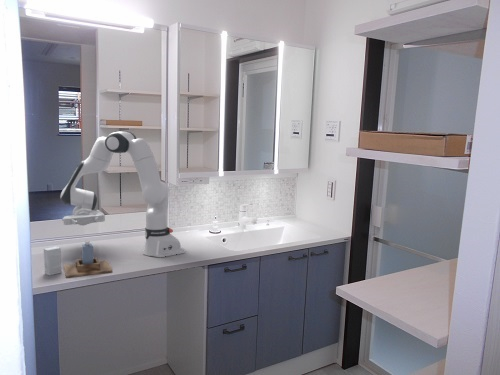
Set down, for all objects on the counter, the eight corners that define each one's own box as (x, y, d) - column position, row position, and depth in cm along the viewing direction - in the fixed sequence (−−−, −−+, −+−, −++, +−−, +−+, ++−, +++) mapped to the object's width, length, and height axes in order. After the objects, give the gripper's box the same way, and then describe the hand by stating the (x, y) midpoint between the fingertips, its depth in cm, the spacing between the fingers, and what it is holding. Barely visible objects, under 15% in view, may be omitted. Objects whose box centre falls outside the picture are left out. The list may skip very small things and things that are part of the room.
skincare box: (57, 270, 195) (56, 245, 193) (61, 272, 192) (60, 247, 190) (44, 273, 190) (43, 248, 188) (48, 276, 187) (47, 250, 186)
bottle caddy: (107, 262, 209) (107, 254, 208) (112, 272, 195) (112, 264, 194) (63, 267, 200) (63, 259, 199) (66, 278, 185) (65, 269, 185)
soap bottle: (92, 265, 200) (91, 239, 198) (93, 268, 196) (92, 241, 194) (82, 266, 198) (81, 240, 196) (83, 269, 194) (82, 242, 192)
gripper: (61, 212, 217) (63, 217, 205) (102, 209, 226) (106, 213, 214) (62, 224, 218) (63, 230, 206) (102, 220, 227) (106, 225, 215)
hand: (85, 221), depth 210 cm, fingers open, 8 cm apart
